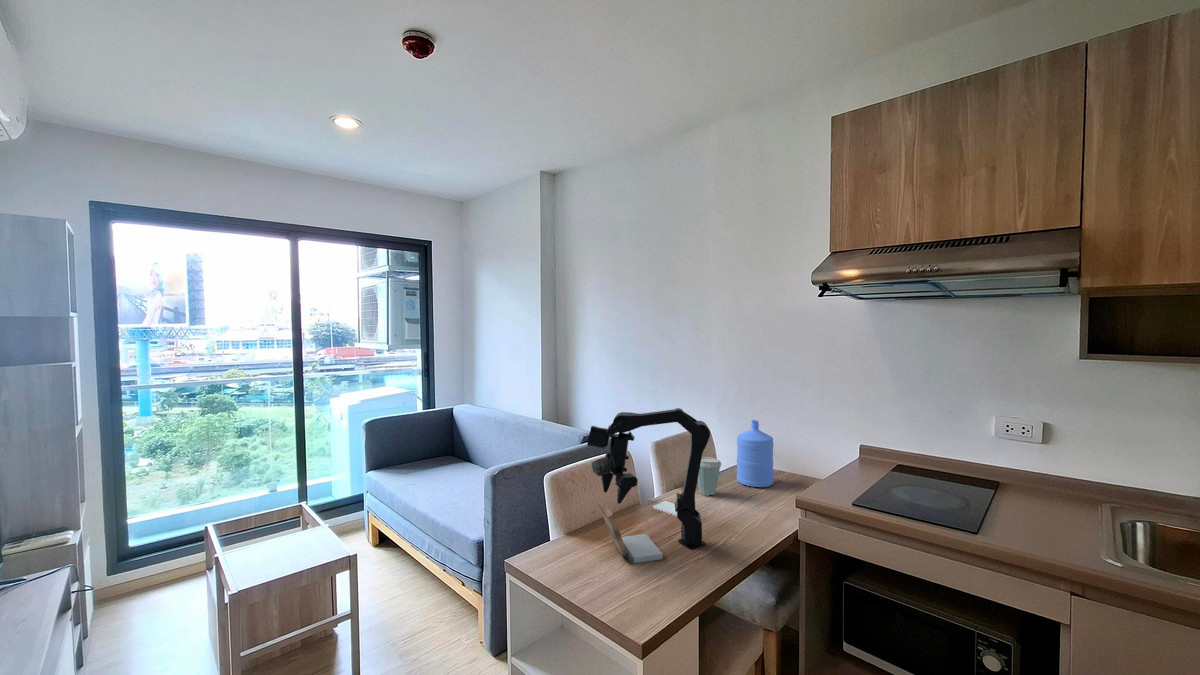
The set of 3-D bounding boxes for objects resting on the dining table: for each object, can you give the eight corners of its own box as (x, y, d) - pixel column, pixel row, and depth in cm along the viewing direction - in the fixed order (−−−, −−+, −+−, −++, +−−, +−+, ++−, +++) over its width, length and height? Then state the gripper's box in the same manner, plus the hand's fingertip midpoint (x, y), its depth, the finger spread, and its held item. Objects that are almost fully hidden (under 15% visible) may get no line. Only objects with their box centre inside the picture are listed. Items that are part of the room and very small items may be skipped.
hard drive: (652, 505, 179) (679, 514, 170) (665, 500, 185) (691, 508, 176) (652, 510, 179) (679, 519, 170) (665, 504, 185) (691, 512, 176)
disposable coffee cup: (701, 487, 202) (701, 453, 202) (725, 492, 196) (725, 457, 195) (690, 494, 193) (691, 459, 193) (715, 500, 187) (715, 463, 187)
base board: (646, 538, 153) (646, 533, 153) (662, 559, 140) (662, 553, 140) (616, 542, 150) (616, 537, 150) (630, 563, 137) (630, 558, 137)
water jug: (768, 491, 198) (768, 425, 197) (732, 484, 206) (732, 422, 206) (776, 481, 211) (777, 419, 210) (742, 475, 219) (742, 416, 219)
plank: (612, 541, 149) (617, 538, 149) (623, 559, 137) (628, 556, 138) (597, 502, 148) (602, 500, 148) (608, 517, 136) (613, 514, 136)
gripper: (584, 443, 156) (578, 488, 157) (611, 461, 140) (604, 511, 141) (612, 442, 162) (606, 486, 162) (641, 460, 145) (634, 508, 146)
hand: (611, 497), depth 153 cm, fingers open, 9 cm apart
